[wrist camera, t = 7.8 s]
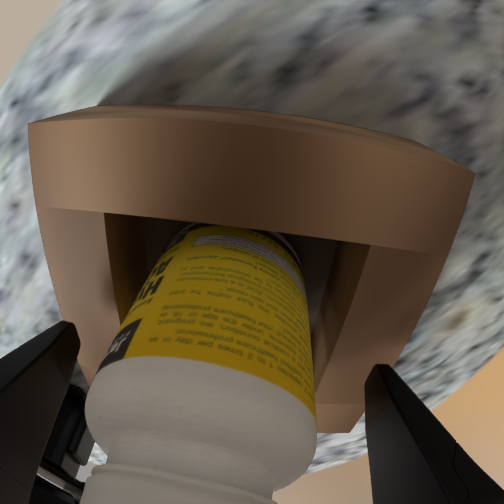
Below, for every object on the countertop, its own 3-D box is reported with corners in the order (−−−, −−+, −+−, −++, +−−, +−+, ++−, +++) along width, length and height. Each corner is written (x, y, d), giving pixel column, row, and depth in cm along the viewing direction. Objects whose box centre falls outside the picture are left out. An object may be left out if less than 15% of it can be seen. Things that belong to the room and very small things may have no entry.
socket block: (120, 341, 16) (93, 397, 13) (95, 106, 10) (27, 123, 7) (339, 369, 16) (349, 432, 13) (417, 142, 10) (475, 173, 7)
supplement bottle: (174, 191, 11) (-8, 474, 2) (325, 236, 11) (390, 551, 3) (155, 308, 13) (70, 527, 5) (275, 341, 14) (266, 571, 5)
